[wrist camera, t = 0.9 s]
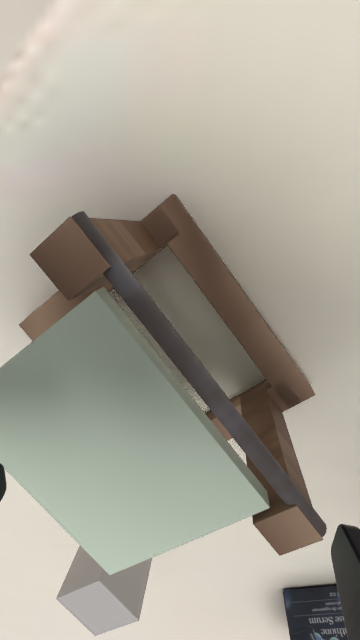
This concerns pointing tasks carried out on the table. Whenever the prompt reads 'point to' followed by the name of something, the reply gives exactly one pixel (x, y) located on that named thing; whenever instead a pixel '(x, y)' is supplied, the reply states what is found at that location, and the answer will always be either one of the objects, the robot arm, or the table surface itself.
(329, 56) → the table surface
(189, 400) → the trapdoor
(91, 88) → the table surface
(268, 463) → the frame
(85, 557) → the grey rectangular block
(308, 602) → the box
